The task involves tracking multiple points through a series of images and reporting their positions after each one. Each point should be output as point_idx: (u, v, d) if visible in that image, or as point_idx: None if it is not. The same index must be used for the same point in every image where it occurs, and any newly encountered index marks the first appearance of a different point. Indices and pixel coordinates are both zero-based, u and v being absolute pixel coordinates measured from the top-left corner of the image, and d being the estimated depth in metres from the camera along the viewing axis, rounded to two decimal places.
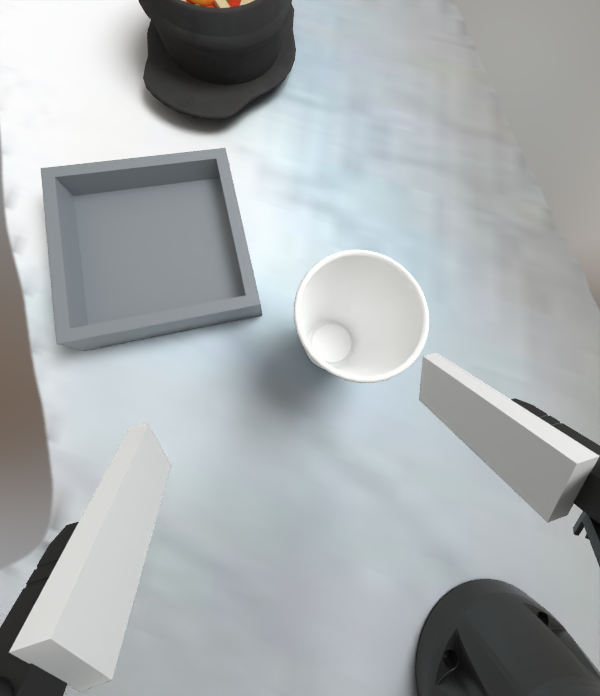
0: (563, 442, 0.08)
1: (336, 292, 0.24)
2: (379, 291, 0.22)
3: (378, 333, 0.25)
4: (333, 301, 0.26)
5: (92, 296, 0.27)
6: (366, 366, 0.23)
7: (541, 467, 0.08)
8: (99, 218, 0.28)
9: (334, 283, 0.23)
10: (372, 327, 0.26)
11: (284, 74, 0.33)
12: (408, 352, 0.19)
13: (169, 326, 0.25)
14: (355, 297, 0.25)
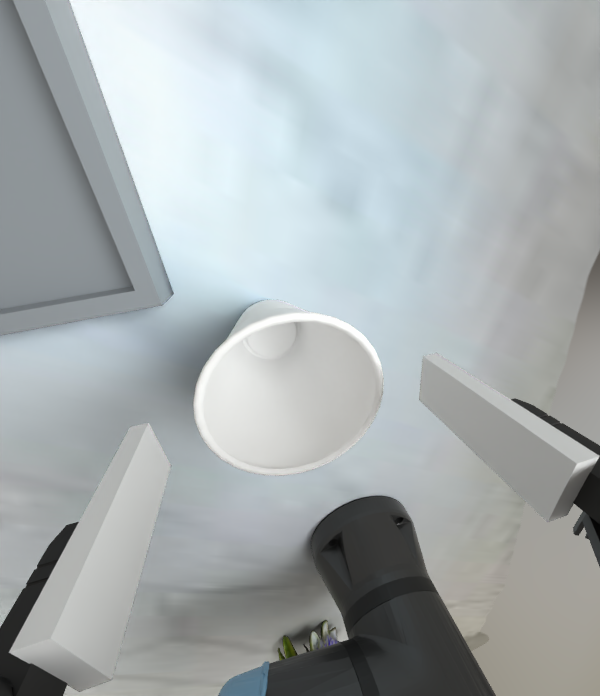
0: (563, 442, 0.08)
1: None
2: (332, 328, 0.16)
3: (326, 354, 0.20)
4: None
5: None
6: (303, 398, 0.20)
7: (541, 467, 0.08)
8: None
9: (270, 311, 0.15)
10: (321, 340, 0.20)
11: None
12: (346, 427, 0.16)
13: None
14: None
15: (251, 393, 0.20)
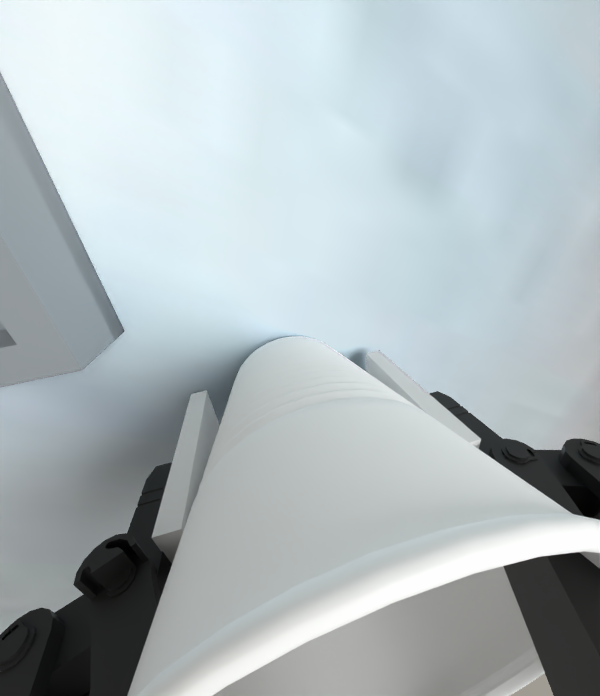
0: (456, 428, 0.09)
1: None
2: None
3: None
4: None
5: None
6: None
7: None
8: None
9: None
10: None
11: None
12: (468, 636, 0.08)
13: None
14: (366, 376, 0.09)
15: None
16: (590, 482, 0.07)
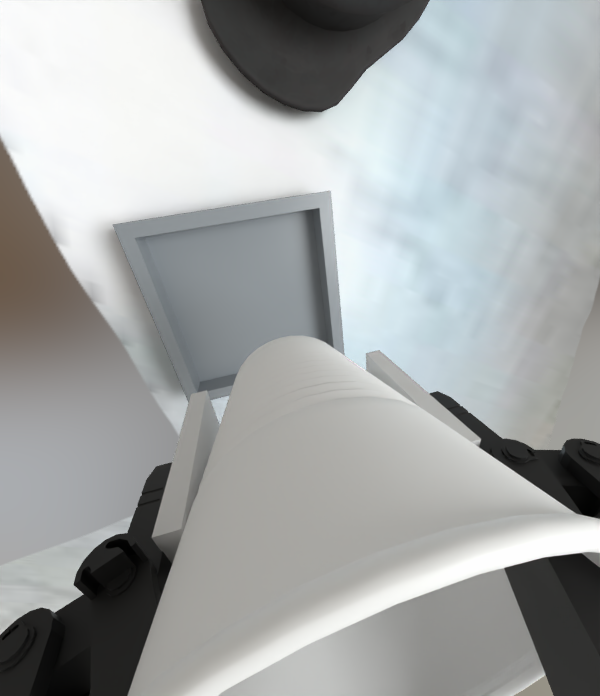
0: (456, 428, 0.09)
1: None
2: None
3: None
4: None
5: (194, 351, 0.29)
6: None
7: None
8: (182, 267, 0.25)
9: None
10: None
11: (423, 7, 0.20)
12: (470, 636, 0.08)
13: None
14: (367, 376, 0.09)
15: None
16: (590, 482, 0.07)
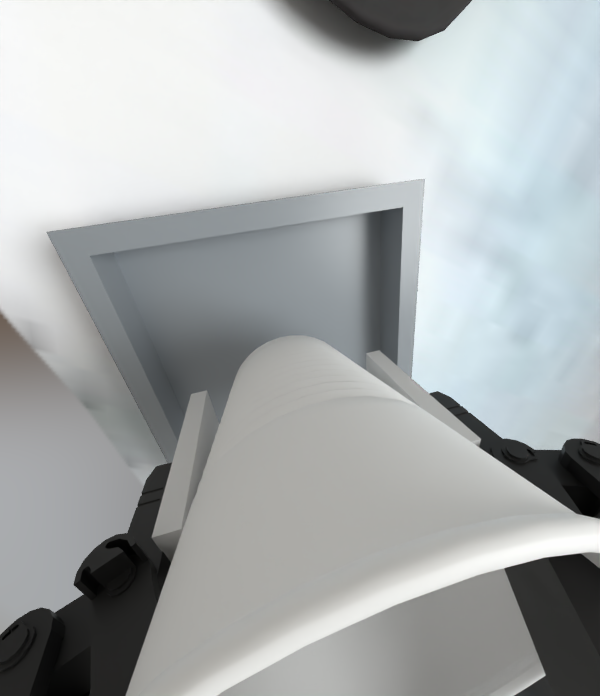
0: (456, 428, 0.09)
1: None
2: None
3: None
4: None
5: None
6: None
7: None
8: (175, 298, 0.16)
9: None
10: None
11: None
12: (469, 637, 0.08)
13: None
14: (367, 375, 0.09)
15: None
16: (590, 482, 0.07)
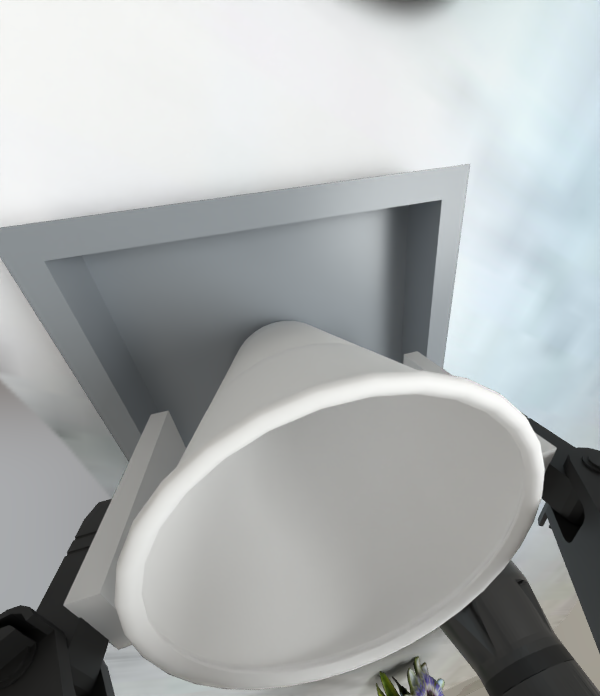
0: None
1: None
2: None
3: (375, 407, 0.12)
4: None
5: (185, 443, 0.17)
6: (341, 478, 0.12)
7: None
8: (161, 311, 0.13)
9: None
10: None
11: None
12: (437, 561, 0.09)
13: None
14: None
15: (258, 472, 0.12)
16: None
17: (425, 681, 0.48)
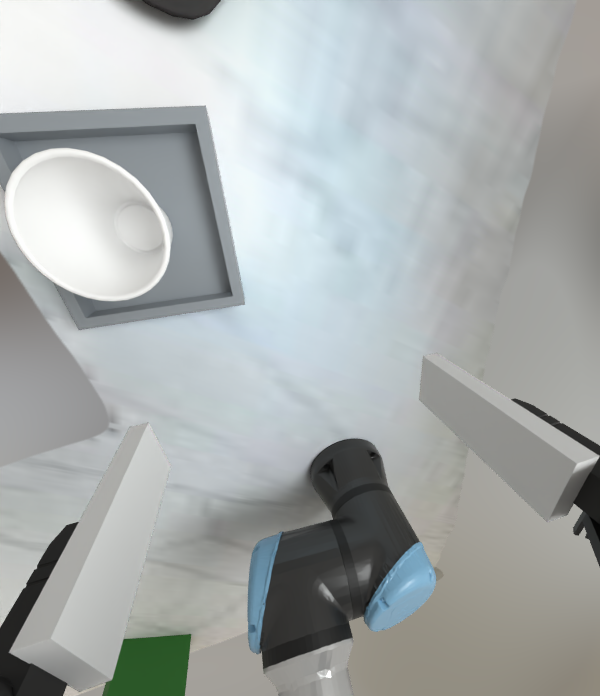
0: (563, 442, 0.08)
1: (107, 180, 0.21)
2: None
3: None
4: (116, 187, 0.23)
5: None
6: (150, 270, 0.25)
7: (541, 467, 0.08)
8: None
9: (90, 174, 0.20)
10: (167, 224, 0.25)
11: None
12: None
13: None
14: (136, 188, 0.22)
15: (108, 263, 0.25)
16: None
17: None
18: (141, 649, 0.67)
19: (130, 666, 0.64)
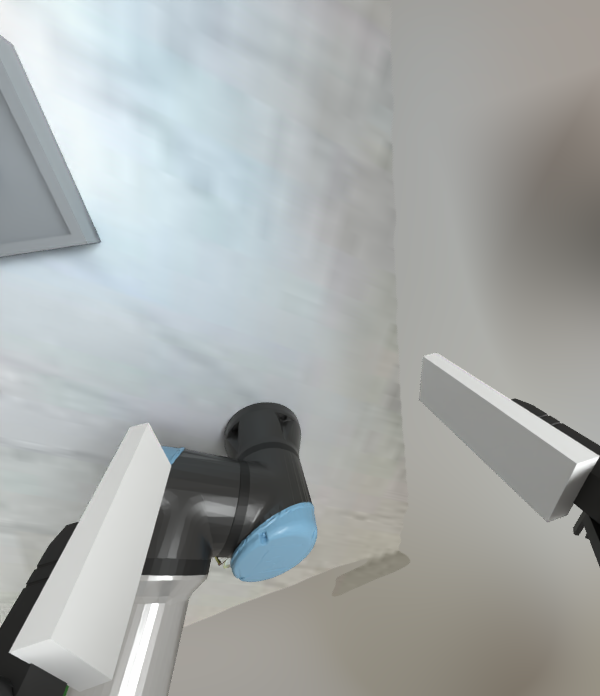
0: (563, 442, 0.08)
1: None
2: None
3: None
4: None
5: None
6: None
7: (541, 467, 0.08)
8: None
9: None
10: None
11: None
12: None
13: None
14: None
15: None
16: None
17: None
18: None
19: None
